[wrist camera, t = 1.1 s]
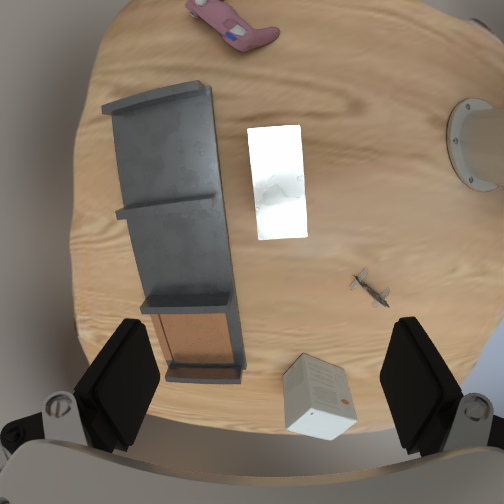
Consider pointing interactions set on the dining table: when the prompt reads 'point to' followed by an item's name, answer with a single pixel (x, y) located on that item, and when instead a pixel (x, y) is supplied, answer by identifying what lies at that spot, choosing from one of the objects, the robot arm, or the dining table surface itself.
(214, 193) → the slot rack
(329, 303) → the dining table surface
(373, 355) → the dining table surface
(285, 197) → the panel
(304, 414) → the small box
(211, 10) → the video game controller
